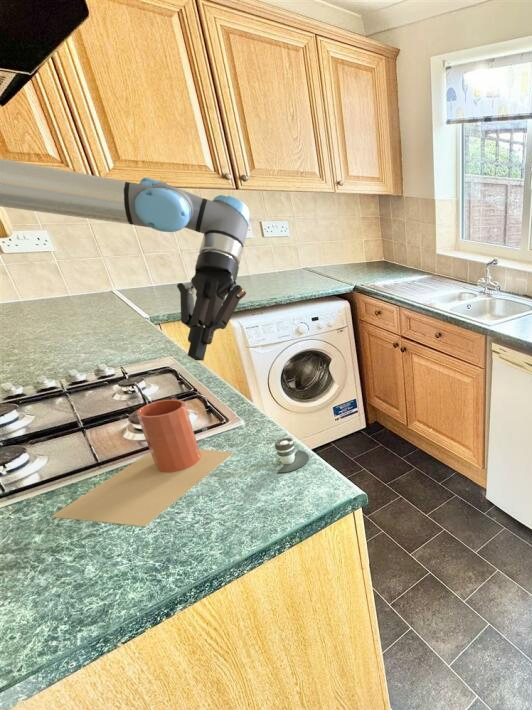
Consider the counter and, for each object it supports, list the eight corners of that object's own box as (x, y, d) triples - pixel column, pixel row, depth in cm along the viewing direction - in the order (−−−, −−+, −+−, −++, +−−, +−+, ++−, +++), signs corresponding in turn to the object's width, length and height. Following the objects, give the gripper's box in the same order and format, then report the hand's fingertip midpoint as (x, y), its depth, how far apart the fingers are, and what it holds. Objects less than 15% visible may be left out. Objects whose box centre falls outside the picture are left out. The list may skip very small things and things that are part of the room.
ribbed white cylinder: (269, 445, 89) (265, 425, 87) (328, 445, 91) (325, 425, 88) (242, 481, 78) (236, 459, 76) (309, 480, 80) (305, 459, 78)
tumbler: (146, 470, 79) (125, 415, 74) (176, 450, 85) (159, 397, 80) (182, 474, 79) (163, 418, 74) (209, 453, 85) (194, 401, 80)
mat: (51, 518, 68) (50, 516, 67) (160, 447, 87) (159, 445, 86) (145, 528, 67) (144, 526, 67) (234, 454, 86) (234, 452, 86)
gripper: (258, 271, 97) (239, 365, 89) (197, 269, 95) (172, 364, 87) (242, 250, 90) (219, 350, 82) (176, 248, 88) (147, 349, 80)
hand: (195, 357), depth 85 cm, fingers closed
